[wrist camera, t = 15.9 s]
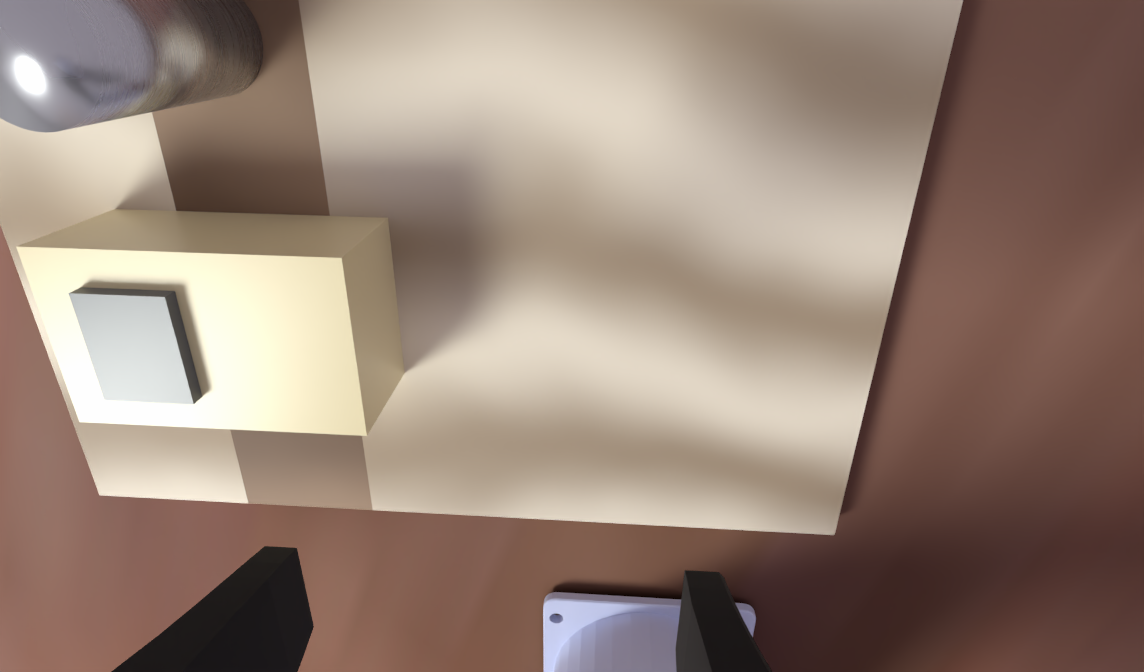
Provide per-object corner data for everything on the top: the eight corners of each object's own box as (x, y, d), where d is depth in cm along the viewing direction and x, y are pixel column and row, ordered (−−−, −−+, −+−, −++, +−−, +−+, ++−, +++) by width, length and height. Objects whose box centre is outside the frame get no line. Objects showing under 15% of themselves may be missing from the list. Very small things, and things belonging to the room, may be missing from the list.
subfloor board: (827, 519, 23) (834, 535, 23) (115, 481, 25) (99, 495, 24) (967, -82, 16) (984, -87, 15) (-86, -92, 17) (-118, -97, 16)
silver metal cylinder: (272, 97, 18) (119, 134, 12) (169, 95, 18) (-27, 131, 12) (250, -23, 16) (69, -42, 11) (141, -24, 16) (-92, -43, 11)
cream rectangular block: (404, 373, 21) (361, 444, 17) (159, 362, 21) (68, 429, 18) (387, 217, 19) (335, 263, 15) (115, 209, 19) (1, 251, 16)
